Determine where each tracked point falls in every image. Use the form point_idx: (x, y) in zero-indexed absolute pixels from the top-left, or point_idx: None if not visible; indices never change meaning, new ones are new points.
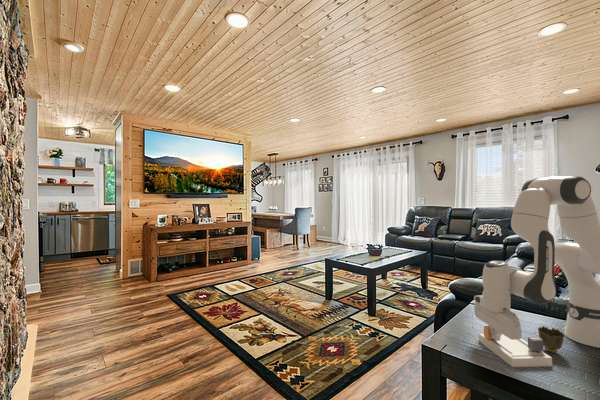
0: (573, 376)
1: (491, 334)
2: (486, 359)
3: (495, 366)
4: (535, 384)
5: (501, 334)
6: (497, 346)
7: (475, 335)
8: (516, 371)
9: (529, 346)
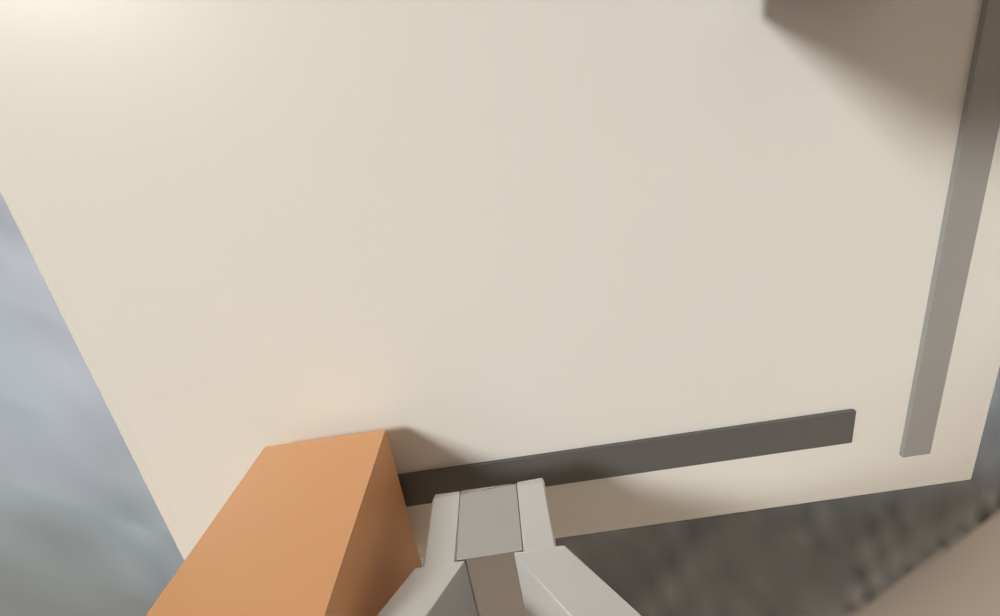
0: None
1: (392, 589)
2: (697, 577)
3: (823, 554)
4: None
5: (619, 603)
6: (628, 512)
7: (93, 473)
8: None
9: None
